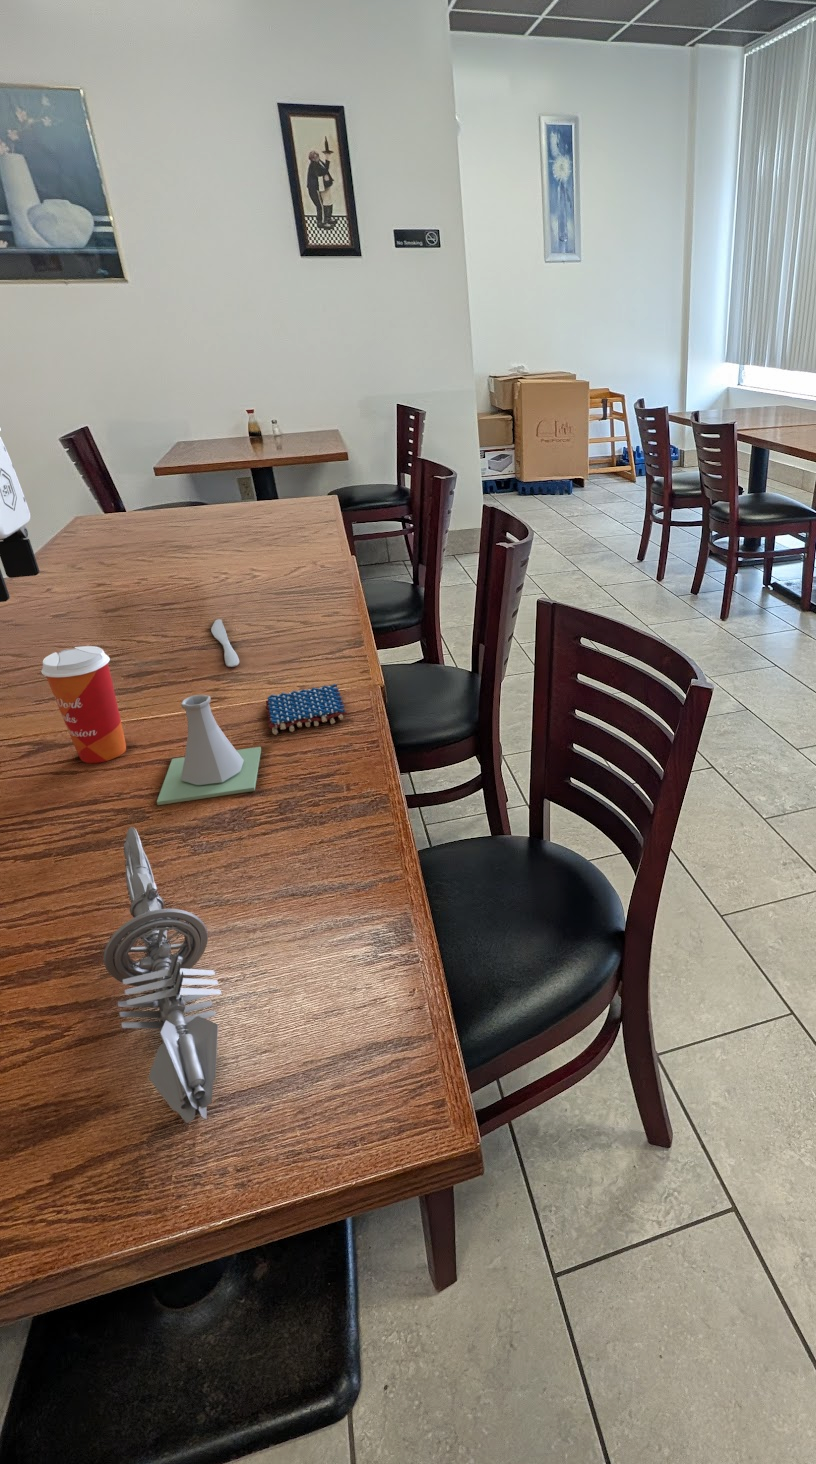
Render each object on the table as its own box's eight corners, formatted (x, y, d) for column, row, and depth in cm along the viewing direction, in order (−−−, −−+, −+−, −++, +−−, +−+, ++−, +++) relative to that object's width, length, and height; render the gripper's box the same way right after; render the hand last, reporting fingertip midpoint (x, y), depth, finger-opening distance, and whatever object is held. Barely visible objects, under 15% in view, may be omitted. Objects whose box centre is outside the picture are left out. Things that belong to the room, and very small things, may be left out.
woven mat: (265, 706, 121) (263, 694, 120) (338, 693, 124) (336, 681, 123) (269, 736, 112) (266, 723, 111) (348, 721, 115) (346, 708, 115)
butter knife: (221, 666, 134) (240, 662, 135) (208, 621, 156) (224, 617, 157) (222, 670, 134) (241, 665, 135) (209, 624, 156) (225, 620, 157)
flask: (254, 759, 105) (238, 688, 101) (226, 788, 99) (208, 714, 94) (201, 757, 106) (183, 686, 102) (170, 785, 100) (150, 712, 95)
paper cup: (63, 754, 109) (30, 656, 103) (123, 734, 114) (95, 640, 108) (82, 773, 104) (49, 672, 98) (144, 752, 109) (116, 654, 103)
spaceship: (178, 797, 83) (89, 795, 78) (270, 1059, 57) (147, 1080, 53) (163, 863, 85) (75, 865, 80) (245, 1141, 60) (124, 1169, 55)
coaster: (157, 805, 97) (156, 801, 97) (173, 761, 106) (172, 758, 106) (254, 791, 99) (254, 787, 99) (261, 749, 109) (260, 746, 108)
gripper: (-40, 426, 73) (21, 609, 80) (23, 408, 88) (70, 564, 96) (-137, 431, 71) (-66, 617, 79) (-56, 412, 87) (-2, 570, 94)
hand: (8, 588), depth 87 cm, fingers open, 9 cm apart
